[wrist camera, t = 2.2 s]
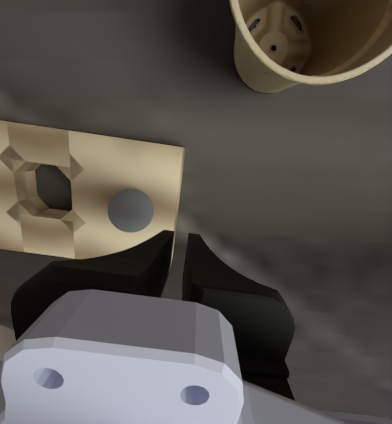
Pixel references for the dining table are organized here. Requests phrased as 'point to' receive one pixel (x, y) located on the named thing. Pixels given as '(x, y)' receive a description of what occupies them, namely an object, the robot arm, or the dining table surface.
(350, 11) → the flower pot
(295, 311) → the dining table surface
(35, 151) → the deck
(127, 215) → the ball
